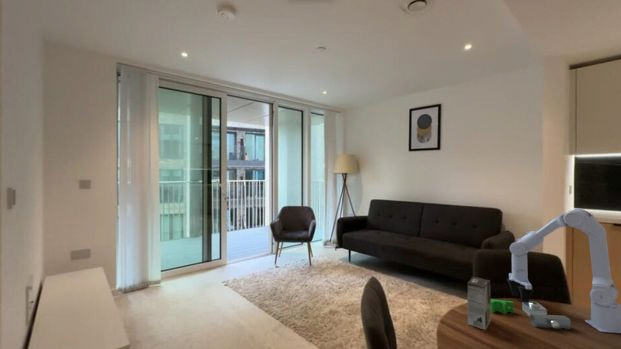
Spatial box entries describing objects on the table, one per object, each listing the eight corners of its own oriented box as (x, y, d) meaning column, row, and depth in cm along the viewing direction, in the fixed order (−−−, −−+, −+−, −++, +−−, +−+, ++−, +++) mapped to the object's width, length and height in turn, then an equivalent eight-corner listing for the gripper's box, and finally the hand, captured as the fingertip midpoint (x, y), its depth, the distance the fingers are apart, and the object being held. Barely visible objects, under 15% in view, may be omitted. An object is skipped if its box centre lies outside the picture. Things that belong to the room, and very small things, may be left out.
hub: (538, 311, 122) (538, 300, 122) (546, 318, 116) (546, 306, 116) (522, 310, 123) (522, 299, 123) (529, 317, 117) (529, 305, 117)
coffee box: (473, 315, 119) (472, 276, 119) (491, 321, 114) (491, 279, 114) (467, 324, 112) (466, 282, 112) (486, 330, 108) (485, 286, 108)
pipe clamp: (483, 312, 122) (483, 301, 122) (481, 308, 126) (481, 297, 126) (515, 316, 118) (514, 305, 118) (512, 312, 121) (512, 301, 121)
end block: (565, 325, 110) (565, 315, 110) (574, 331, 106) (574, 322, 106) (530, 323, 112) (530, 314, 112) (537, 329, 108) (537, 320, 108)
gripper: (501, 263, 138) (502, 292, 138) (518, 274, 123) (519, 306, 124) (518, 264, 137) (518, 292, 137) (537, 274, 122) (537, 306, 122)
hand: (520, 299), depth 130 cm, fingers open, 7 cm apart
